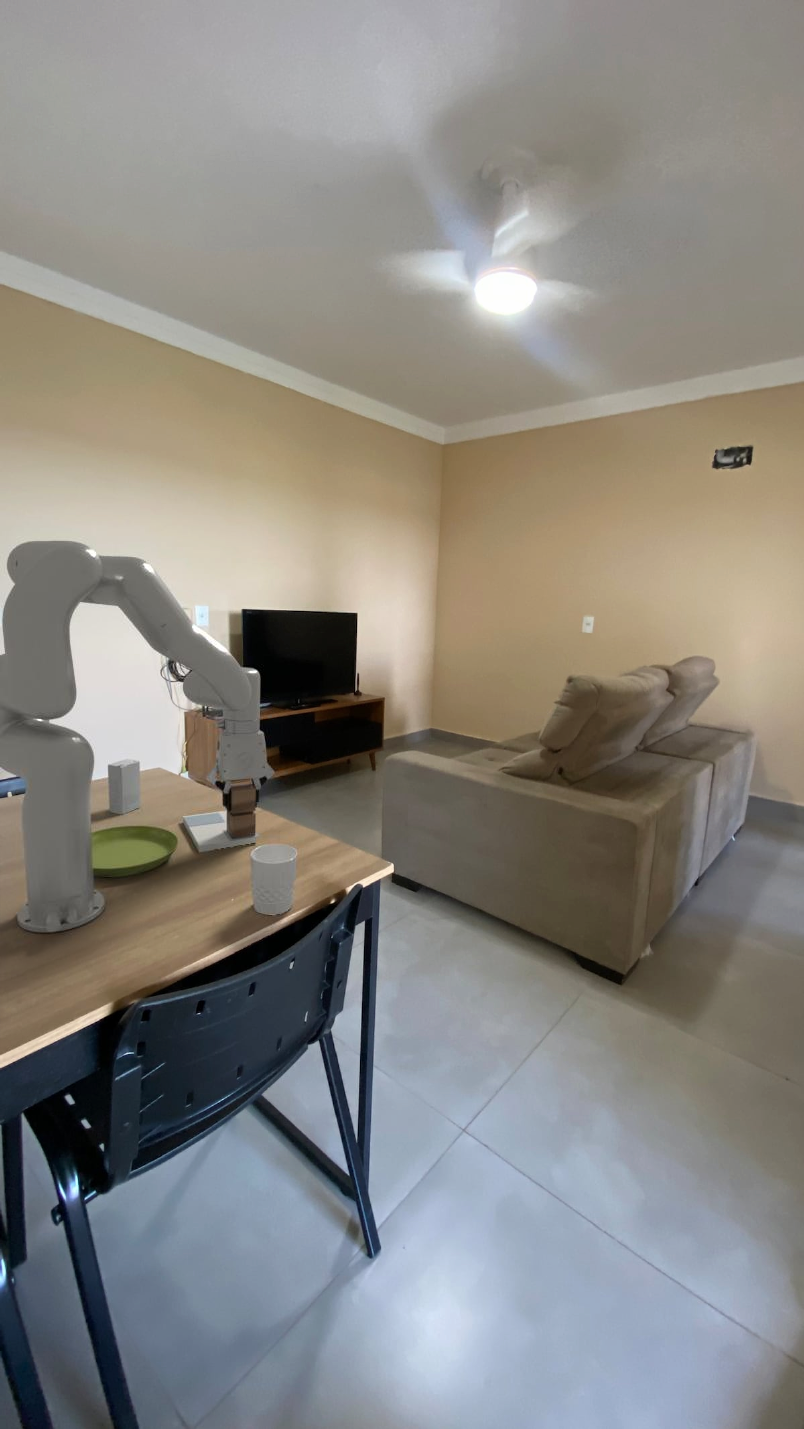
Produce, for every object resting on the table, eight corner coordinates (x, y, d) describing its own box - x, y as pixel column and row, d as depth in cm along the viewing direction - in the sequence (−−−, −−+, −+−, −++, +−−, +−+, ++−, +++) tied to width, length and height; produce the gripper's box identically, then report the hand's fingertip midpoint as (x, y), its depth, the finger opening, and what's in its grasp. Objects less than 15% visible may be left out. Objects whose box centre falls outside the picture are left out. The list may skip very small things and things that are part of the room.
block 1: (255, 810, 128) (255, 788, 127) (232, 813, 126) (232, 791, 125) (248, 803, 132) (249, 782, 131) (226, 806, 130) (226, 784, 129)
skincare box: (127, 804, 147) (126, 757, 145) (142, 807, 146) (140, 760, 144) (108, 812, 142) (106, 763, 139) (122, 815, 140) (120, 766, 138)
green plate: (60, 891, 105) (59, 875, 104) (68, 845, 123) (67, 831, 123) (184, 874, 114) (183, 858, 113) (174, 834, 132) (174, 820, 132)
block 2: (255, 835, 129) (255, 814, 128) (232, 839, 127) (232, 817, 126) (248, 827, 134) (249, 806, 133) (226, 830, 131) (226, 809, 130)
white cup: (247, 898, 106) (248, 846, 104) (291, 892, 109) (292, 842, 107) (252, 920, 99) (253, 865, 97) (299, 914, 102) (301, 860, 100)
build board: (259, 843, 129) (259, 836, 129) (199, 852, 123) (199, 845, 123) (237, 815, 145) (237, 808, 144) (182, 822, 138) (182, 815, 138)
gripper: (204, 732, 118) (204, 818, 122) (285, 727, 127) (284, 808, 130) (196, 724, 124) (196, 806, 128) (274, 720, 133) (273, 797, 136)
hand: (240, 806), depth 129 cm, fingers closed on block 1, 4 cm apart
